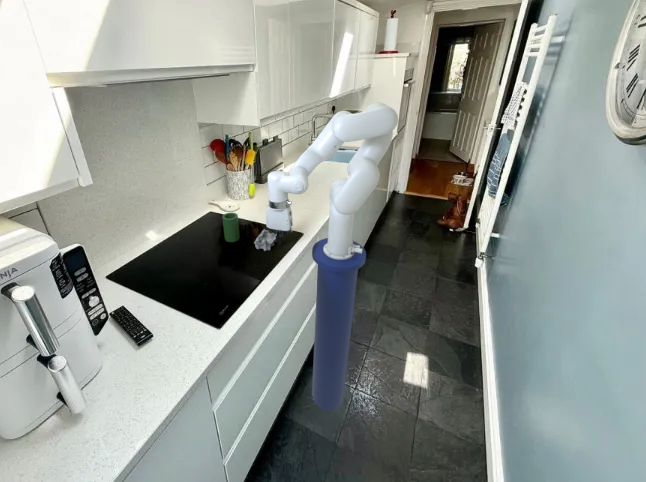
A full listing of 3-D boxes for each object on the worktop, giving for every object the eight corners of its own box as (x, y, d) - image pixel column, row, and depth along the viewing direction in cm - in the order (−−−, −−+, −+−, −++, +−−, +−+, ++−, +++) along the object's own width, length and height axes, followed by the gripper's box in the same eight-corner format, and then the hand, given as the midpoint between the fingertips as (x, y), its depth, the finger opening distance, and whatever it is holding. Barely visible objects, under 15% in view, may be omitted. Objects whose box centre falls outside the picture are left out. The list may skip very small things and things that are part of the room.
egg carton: (264, 236, 135) (264, 227, 133) (280, 239, 132) (279, 231, 130) (252, 248, 127) (251, 239, 125) (268, 252, 123) (268, 243, 122)
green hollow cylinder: (242, 235, 136) (240, 213, 131) (235, 243, 130) (233, 220, 126) (229, 233, 138) (226, 211, 133) (222, 240, 132) (219, 218, 128)
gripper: (299, 201, 120) (299, 241, 128) (264, 197, 125) (266, 235, 133) (294, 209, 114) (294, 250, 122) (256, 204, 118) (259, 244, 127)
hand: (279, 242), depth 127 cm, fingers closed
